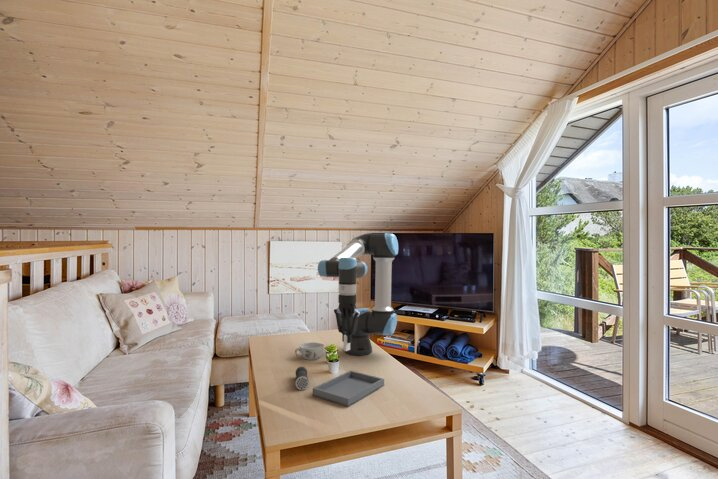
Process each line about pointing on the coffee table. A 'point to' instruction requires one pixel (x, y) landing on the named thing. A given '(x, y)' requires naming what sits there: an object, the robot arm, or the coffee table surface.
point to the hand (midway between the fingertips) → (346, 350)
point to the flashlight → (300, 374)
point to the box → (348, 388)
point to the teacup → (310, 350)
